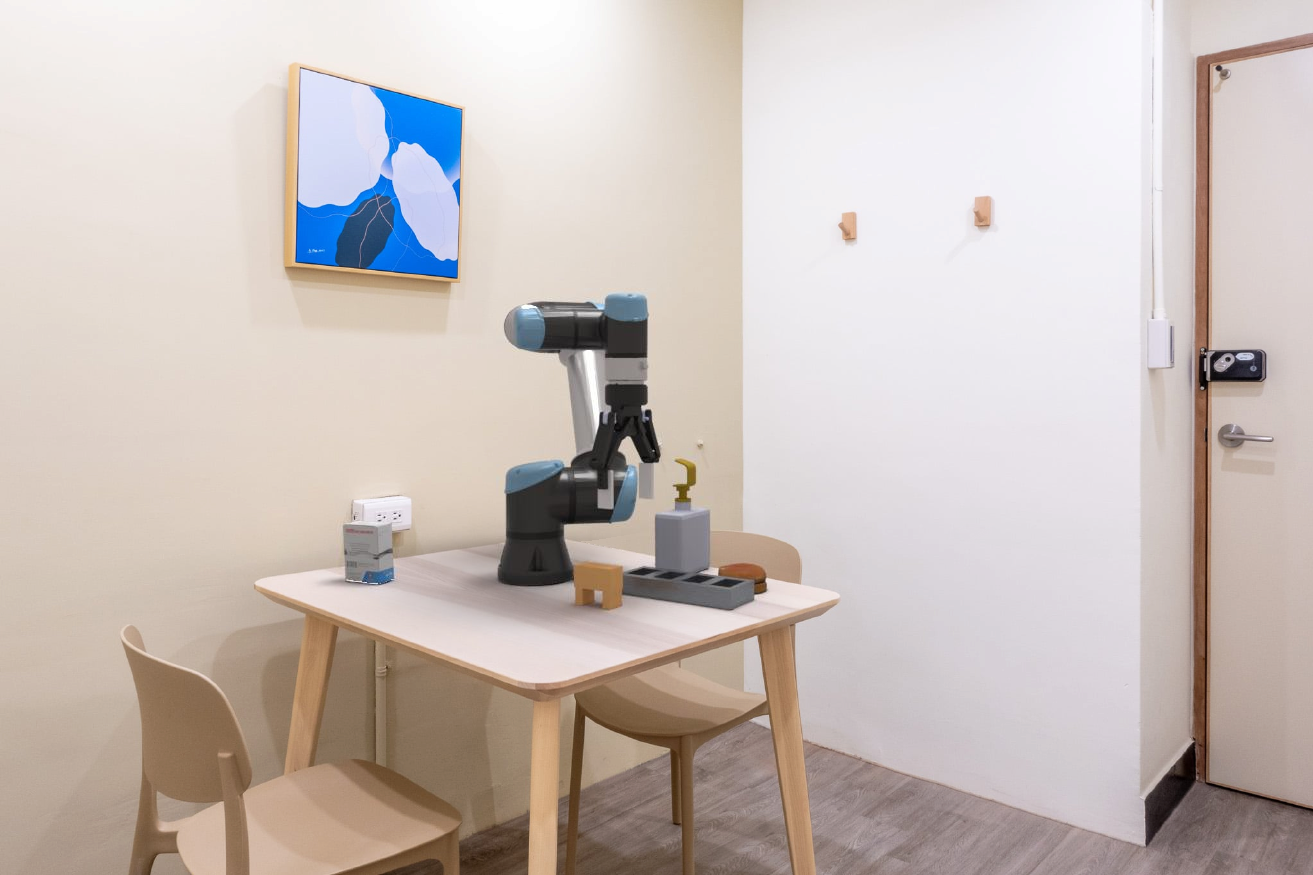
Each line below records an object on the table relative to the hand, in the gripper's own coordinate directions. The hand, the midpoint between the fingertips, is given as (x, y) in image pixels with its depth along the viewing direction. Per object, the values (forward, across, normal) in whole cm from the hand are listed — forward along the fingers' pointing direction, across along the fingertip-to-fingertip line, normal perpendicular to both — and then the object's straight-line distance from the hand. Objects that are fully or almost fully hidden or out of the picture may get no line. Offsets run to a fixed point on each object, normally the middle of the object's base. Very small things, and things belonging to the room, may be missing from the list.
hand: (626, 503), depth 157 cm
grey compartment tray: (+18, +9, -7) cm, 21 cm away
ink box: (+18, -10, +54) cm, 58 cm away
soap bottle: (+18, +28, +4) cm, 34 cm away
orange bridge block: (+18, -4, +3) cm, 19 cm away
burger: (+18, +19, -14) cm, 30 cm away
